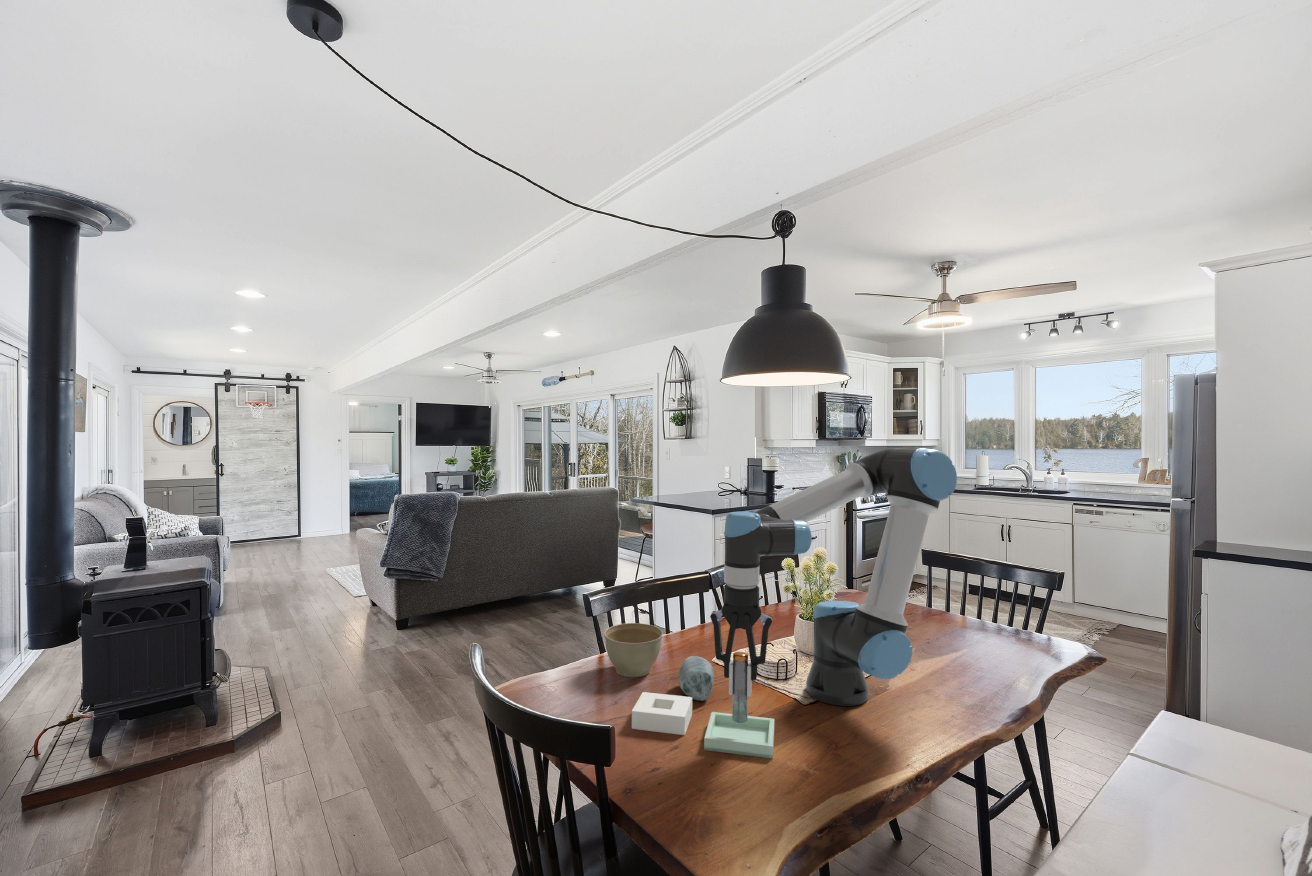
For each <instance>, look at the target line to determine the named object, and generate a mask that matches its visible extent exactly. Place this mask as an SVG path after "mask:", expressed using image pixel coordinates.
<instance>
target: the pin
mask: <svg viewBox="0 0 1312 876" xmlns="http://www.w3.org/2000/svg"><path fill="white" fill-rule="evenodd" d="M732 660H733V694H732V710H731V711H732V712H731V714H732V720H733V721H734V722H737V723H745V722H747V716H748V705H749V704H748V701H749V697H747V666H748V662H749V654H748V653H747V652H744V651H735V652H733V655H732Z"/></svg>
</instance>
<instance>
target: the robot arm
mask: <svg viewBox="0 0 1312 876" xmlns="http://www.w3.org/2000/svg"><path fill="white" fill-rule="evenodd" d="M957 481H958V475H957V469H956V466H955V465H954V464H953V461H952V459H951V458H950V457H949V456H948V454H946V453H944V452H943V451H941V450H937V449H934V448H933V449H931V448H926V447H920V448H917V447H916V448H915V447H914V448H911V447H888V448H885V449H881V450H878V451H876V452H875V451H874V452H873V453H871V454H868V455H865V456H864V457H862V458H859V459H857V460H855V461H853V462H851V463H849V464H847V466H846V467H845V470H843V471H841V472H838V473H836V474H835V475H832V476H829V477H828V478H826V479H823V480H822V481H819V482H818V483H815V484H813V485H811V486H808V487H807V488H804V489H802V490H800V491H798V492H795V493H793V494H791V495H789V496H787V497H785V498H782V499H780V500H779V501H776V502H774V503H772V504H770V505H768V506H765V507H763V508H760V509H758V510H756V511H755V510H754V511H753V510H744V511H732V512H729V513H728V514H726V517H725V523H724V532H723V535H724V564H723V565H724V566H723V567H724V568H723V569H724V572H723V575H724V577H723V578H724V579H723V581H724V583H725V584H724V585H723V605H722V607H721V609H719V610H717V611H716V610H714V611H712V612H711V614H710V615H709V619H710V620H711V623H712V625H713V637H714V655H715V659H716V660H717V661H722V662H723V676H724V678H725V679H728V696H733V659H731V657H732V652H733V646H734V641H735V635H736V631H737V630H736V629H738V630H739V629H742V630H745V633H746V640H747V646H748V647H747V648H748V653H749V654H748V655H749V659H750V661H748V666H747V697H748V698H751V697H752V681H754V682H755V681H757V678H758V665H764V664H765V663H766V659H767V658H766V656H767V648H768V647H767V645H768V639H769V637H768V636H769V629H770V627H771V625H772V624H773V616H772V615H771V614H770V615H767V614H765V613H763V612H762V609H761V607H760V587H759V586H758V585H759V584H760V567H761V566H760V562H761V561H760V560H761V557H767V556H770V557H771V556H788V555H789V556H795V555H803V554H805V553H807V552H808V551H809V550H810V548H811V545H812V536H813V535H812V531H811V529H810V527H809V526H810V525H808V522H810V521H811V520H812V521H813V520H814V519H817V518H818V517H820V516H822V515H825V514H826V513H828V512H831V511H832V510H835V509H837V508H839V507H842V506H843V505H846V504H847V503H850V502H851V501H854V500H856V499H858V498H862V499H867V498H870V497H872V496H875V495H879V494H886V495H885V498H886V499H887V501H888V502H889V503H888V504H889V505H890V506H889V507H890V508H889V511H888V514H887V519H886V522H885V526H884V530H883V532H882V537H881V541H880V544H879V549H878V552H877V555H876V560H875V563H874V567H873V571H872V575H871V578H870V583H869V585H868V590H867V593H866V597H865V601H864V602H863V603H861V604H860V603H859V602H854V601H847V600H826V601H821V602H818V603H817V604H816V605H815V606H814V608H813V617H812V619H813V661H812V664H811V667H810V669H809V672H808V675H807V677H806V684H805V686H806V688H805V689H806V692H807V694H808V695H809V696H810V697H811V696H812V698H813V699H814V700H817V701H819V702H822V703H824V704H829V705H833V706H840V707H852V706H853V707H854V706H859V705H862V704H864V703H866V702H867V701H868V700H869V686H868V682H867V681H866V680H867V679H866V676H865V674H866V675H869V676H872V677H874V678H876V679H879V680H883V681H885V680H891V679H895V678H896V677H897V676H898V675H901V674H902V673H903V672H904V671H905V670H906V669H907V668H908V666H909V665H910V663H911V660H912V657H913V653H914V652H913V645H912V641H911V640H910V638H909V637H908V636H907V634H906V633H907V630H908V625H909V624H908V622H907V620H906V618H905V617H904V612H905V608H906V605H907V600H908V596H909V593H910V589H911V585H912V582H913V577H914V574H915V570H916V567H917V562H918V559H919V554H920V550H921V546H922V545H923V544H922V543H923V540H924V536H925V532H926V528H927V524H928V521H929V516H931V515H932V514H934V513H936V512H938V510H939V505H940V503H941V501H944V500H946V499H948V498H949V496H952V494H953V493H954V492H955V489H956V488H957V487H956V486H957V483H958V482H957ZM722 616H723V617H724V619H725V620H726V622H727V623H728V624H729V629H728V636H727V641H726V647H725V653H724V652H723V642H722V641H723V640H722V627H721V621H722V619H723V618H722ZM758 620H760V624H761V626H762V631H761V640H760V641H761V642H760V652H759V655H757V649H756V642H755V635H754V626H755V624H756V622H758Z"/></svg>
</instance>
